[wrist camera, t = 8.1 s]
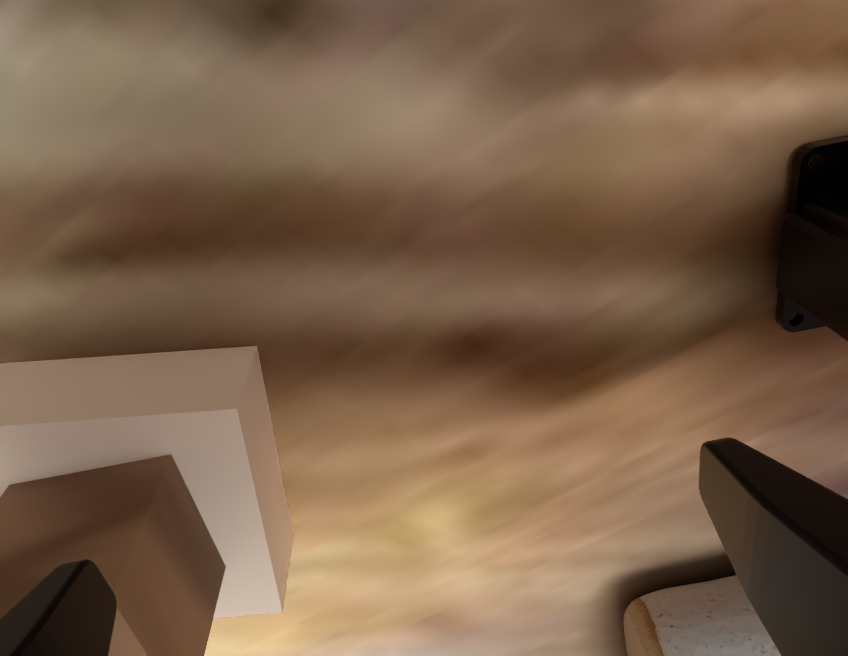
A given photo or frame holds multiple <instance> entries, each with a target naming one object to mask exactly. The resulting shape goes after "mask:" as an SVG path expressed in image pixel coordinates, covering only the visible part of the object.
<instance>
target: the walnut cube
mask: <svg viewBox="0 0 848 656" xmlns="http://www.w3.org/2000/svg"><path fill="white" fill-rule="evenodd" d="M82 559H90V560H92V561H93V562H95V563H96V565H97V566H98V568H99V569H100V571H101V573H102V574H103V576H104V577H105V579H106V580H107V582H108V583H109V585H110V587H111V588H112V590H113V591H114V593H115V596H116V600H117V613H116V618H115V623H114V629H113V634H112V640H111V645H110V650H109V656H204V653H205V649H206V645H207V641H208V637H209V633H210V629H211V625H212V621H213V617H214V613H215V609H216V605H217V600H218V596H219V592H220V588H221V584H222V580H223V576H224V572H225V568H226V566H225V564H224V562H223V560H222V558H221V555H220V553H219V551H218V549H217V547H216V545H215V543H214V541H213V539H212V537H211V535H210V533H209V531H208V529H207V527H206V525H205V523H204V521H203V518H202V516H201V514H200V512H199V510H198V508H197V506H196V504H195V502H194V500H193V498H192V496H191V494H190V492H189V490H188V488H187V486H186V484H185V482H184V480H183V477H182V475H181V473H180V471H179V469H178V467H177V465H176V463H175V461H174V459H173V457H172V455H166V456H160V457H155V458H150V459H144V460H139V461H134V462H128V463H123V464H118V465H112V466H107V467H102V468H96V469H91V470H86V471H80V472H75V473H70V474H65V475H59V476H54V477H49V478H43V479H38V480H33V481H27V482H22V483H17V484H11V485H9V486H8V487H7V489H6V490H5V491H4V493H3V494H2V496H1V497H0V618H1V617H3V616H4V615H5V614H6V613H7V612H8V611H9V610H10V609H11V608H12V607H13V606H15V605H16V604H17V603H18V602H19V601H20V600H21V599H22V598H23V597H24V596H25V595H27V594H28V593H29V592H30V591H31V590H32V589H33V588H34V587H35V586H36V585H37V584H39V583H40V582H41V581H42V580H43V579H44V578H45V577H46V576H47V575H48V574H49V573H51V572H52V571H53V570H54V569H55V568H56V567H57V566H59V565H60V564H63V563H66V562H71V561H76V560H82Z"/></svg>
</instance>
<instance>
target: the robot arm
mask: <svg viewBox="0 0 848 656" xmlns="http://www.w3.org/2000/svg"><path fill="white" fill-rule="evenodd" d="M815 155H817V159H816V162H815V163H814V164H813V165H812V166H810V167H809V166H808V164H809V161H810V159H811V158H812V157H813V156H815ZM776 287H777V289H779V290H778V299H777V309H776V322H777V323H778V325H780V326H781V327H782V328H783V329H784V330H786V331H788V332H797V331H803V330H808V329H813V328H818V327H823V326H828V327H829V328H830V329H832V330H833V331H834V332H836V333H837V334H838V335H840V336H841V337H842V338H844V339H845V340H846V341H848V136H844V137H839V138H834V139H829V140H824V141H819V142H814V143H810V144H807V145H805V146H803V147H802V148H801V149H800V150H798V152H797V153H796V155H795V156H794V159H793V163H792V172H791V181H790V190H789V199H788V208H787V216H786V218H785V219H784V221H783V228H782V237H781V246H780V256H779V265H778V274H777V284H776ZM796 313H797V314H796ZM794 314H796V316H795V317H794V318H793V319H792V320H790V318H791V317H792V316H793V315H794ZM699 490H700V495H701V498H702V500H703V503H704V505H705V507H706V509H707V511H708V514H709V516H710V518H711V520H712V522H713V525H714V527H715V529H716V531H717V533H718V535H719V538H720V540H721V542H722V544H723V546H724V549H725V551H726V553H727V555H728V557H729V560H730V562H731V564H732V566H733V568H734V570H735V573H736V575H737V577H738V579H739V581H740V583H741V586H742V588H743V590H744V592H745V594H746V596H747V598H748V600H749V601H750V603H751V605H752V607H753V609H754V610H755V612H756V614H757V616H758V617H759V619H760V621H761V622H762V624H763V626H764V627H765V629H766V631H767V633H768V634H769V636H770V638H771V639H772V641H773V643H774V644H775V646H776V648H777V649H778V651H779V653H780V654H781V656H848V499H846V498H844V497H843V496H841V495H839V494H837V493H835V492H833V491H831V490H830V489H828V488H826V487H824V486H822V485H820V484H818V483H816V482H815V481H813V480H811V479H809V478H807V477H805V476H803V475H802V474H800V473H798V472H796V471H794V470H792V469H790V468H789V467H787V466H785V465H783V464H781V463H779V462H777V461H776V460H774V459H772V458H770V457H768V456H766V455H764V454H762V453H761V452H759V451H757V450H755V449H753V448H751V447H749V446H748V445H746V444H744V443H742V442H740V441H738V440H736V439H734V438H723V439H717V440H712V441H707V442H705V443H703V444H702V446H701V450H700V468H699ZM116 613H117V600H116V596H115V593H114V591H113V590H112V588H111V587H110V585H109V583H108V582H107V580H106V579H105V577H104V576H103V574H102V573H101V571H100V569H99V568H98V566H97V565H96V563H95V562H93V561H92V560H90V559H82V560H76V561H71V562H66V563H63V564H60V565H59V566H57V567H56V568H55V569H54V570H53V571H52V572H51V573H49V574H48V575H47V576H46V577H45V578H44V579H43V580H42V581H41V582H40V583H39V584H37V585H36V586H35V587H34V588H33V589H32V590H31V591H30V592H29V593H28V594H27V595H25V596H24V597H23V598H22V599H21V600H20V601H19V602H18V603H17V604H16V605H15V606H13V607H12V608H11V609H10V610H9V611H8V612H7V613H6V614H5V615H4V616H3V617H1V618H0V656H109V650H110V645H111V640H112V634H113V629H114V623H115V618H116Z"/></svg>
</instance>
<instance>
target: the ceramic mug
mask: <svg viewBox="0 0 848 656" xmlns="http://www.w3.org/2000/svg"><path fill="white" fill-rule="evenodd" d="M623 623H624V636H625V642H626V649H627V655H628V656H781V654H780V653H779V651H778V649H777V648H776V646H775V644H774V643H773V641H772V639H771V638H770V636H769V634H768V633H767V631H766V629H765V627H764V626H763V624H762V622H761V621H760V619H759V617H758V616H757V614H756V612H755V610H754V609H753V607H752V605H751V603H750V601H749V600H748V598H747V596H746V594H745V592H744V590H743V588H742V586H741V583H740V581H739V579H738V577H737V575H735V576H730V577H725V578H721V579H716V580H711V581H707V582H701V583H694V584H688V585H682V586H677V587H671V588H666V589H661V590H657V591H654V592H652V593H649V594H646V595H643V596H641V597H639V598H637V599H634V600H633V601H632V602H631V603H630V605H629V606H628V607H627V609H626V611H625V613H624V620H623Z"/></svg>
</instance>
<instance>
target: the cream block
mask: <svg viewBox="0 0 848 656" xmlns="http://www.w3.org/2000/svg"><path fill="white" fill-rule="evenodd" d="M166 455H172V457H173V459H174V461H175V463H176V465H177V467H178V469H179V471H180V473H181V475H182V477H183V480H184V482H185V484H186V486H187V488H188V490H189V492H190V494H191V496H192V498H193V500H194V502H195V504H196V506H197V508H198V510H199V512H200V514H201V516H202V518H203V521H204V523H205V525H206V527H207V529H208V531H209V533H210V535H211V537H212V539H213V541H214V543H215V545H216V547H217V549H218V551H219V553H220V555H221V558H222V560H223V562H224V564H225V566H226V568H225V572H224V576H223V580H222V584H221V588H220V592H219V596H218V600H217V605H216V609H215V613H214V617H213V619H214V618H225V617H237V616H248V615H259V614H270V613H282V612H283V606H284V599H285V592H286V585H287V578H288V571H289V563H290V556H291V549H292V542H293V530H292V524H291V519H290V514H289V509H288V504H287V499H286V493H285V488H284V483H283V478H282V473H281V468H280V462H279V457H278V452H277V447H276V442H275V437H274V431H273V426H272V421H271V416H270V411H269V405H268V400H267V395H266V390H265V385H264V380H263V374H262V369H261V364H260V359H259V354H258V349H257V346H247V347H233V348H218V349H204V350H189V351H174V352H160V353H145V354H131V355H116V356H102V357H87V358H73V359H58V360H43V361H29V362H14V363H0V497H1V496H2V494H3V493H4V491H5V490H6V489H7V487H8V486H9V485H11V484H17V483H22V482H27V481H33V480H38V479H43V478H49V477H54V476H59V475H65V474H70V473H75V472H80V471H86V470H91V469H96V468H102V467H107V466H112V465H118V464H123V463H128V462H134V461H139V460H144V459H150V458H155V457H160V456H166Z"/></svg>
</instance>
